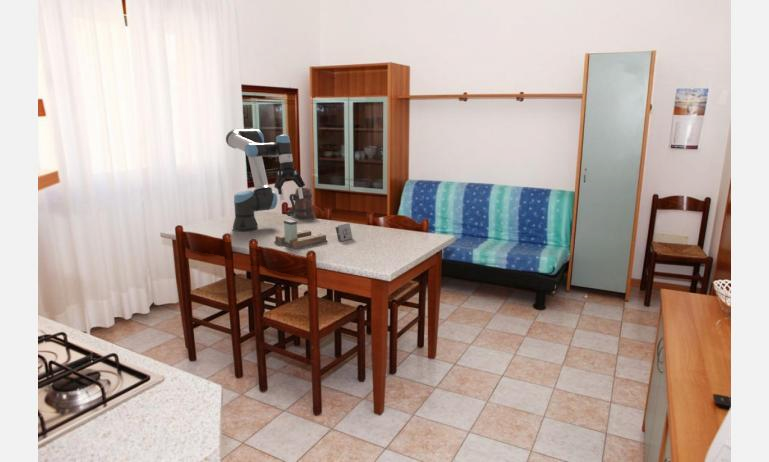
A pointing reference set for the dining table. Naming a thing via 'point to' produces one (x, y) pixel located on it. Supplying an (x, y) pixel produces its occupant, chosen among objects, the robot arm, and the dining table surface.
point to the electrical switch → (344, 232)
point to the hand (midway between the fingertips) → (292, 199)
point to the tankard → (301, 205)
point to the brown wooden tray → (302, 240)
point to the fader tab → (290, 230)
